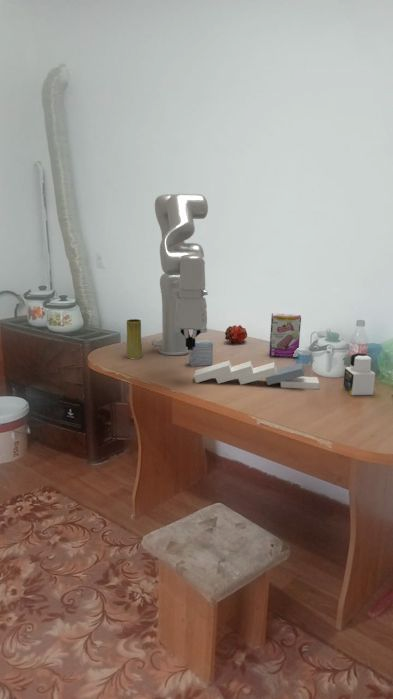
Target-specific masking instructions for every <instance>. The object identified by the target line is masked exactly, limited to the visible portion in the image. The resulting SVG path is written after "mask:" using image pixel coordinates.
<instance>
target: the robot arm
mask: <svg viewBox="0 0 393 699" xmlns="http://www.w3.org/2000/svg"><path fill="white" fill-rule="evenodd" d="M154 211H155V212H154V213H155V217H156V219H157V223H158V225H159V228H160V232H161V241H160V245H159V257H160V265H161V270H162V272H163V273H162V274H161V276H160V278H159V287H160V293H161V306H162V308H161V310H162V313H161V314H162V315H161V316H162V318H161V319H162V320H161V321H162V323H161V324H162V325H161V326H162V330H161V331H162V339H160V340H151V346H153V347H159V348H158V353H160V354H161V355H166V356H184V355H187V354H188V355H189V350H193V347H195V341H196V338H197V336H199V335H201V334H205V333H207V332H208V327H207V324H208V311H207V310H208V309H207V299H206V298H205V297H204V296H208V292H209V291H208V290H206V272H205V271H206V270H205V267H206V265H205V264H206V262H205V261H206V260H205V254H204V248H203V247H202V245H201V244H199V243H195V242H194V243H193V242H189V243H188V242H187V243H186V242H185V241H186V240H189V239H191V237H193V235H194V233H195V223H194V222H195V221H194V220H203V219H206V217H207V216H208V213H209V212H208V211H209V206H208V201H207V198H206V197H205V196H204V195H202V194H201V193H200V194H197V193H194V194H193V193H192V194H191V193H177V194H176V193H175V194H174V193H172V194H171V193H170V194H167V193H166V194H161V195H158V196H157V197H156V199H155V201H154ZM190 330H192V333H191V335H190Z"/></svg>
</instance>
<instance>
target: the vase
mask: <svg viewBox="0 0 393 699" xmlns="http://www.w3.org/2000/svg"><path fill="white" fill-rule="evenodd" d="M142 346H143V344H142V321H141V319H137V318H131V319H127V320H126V355H125V356H127V357H128V358H127V357H126V358H127V359H129V358H139V359H142V358H143V347H142ZM141 357H142V358H141Z"/></svg>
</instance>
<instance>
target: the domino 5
mask: <svg viewBox="0 0 393 699" xmlns="http://www.w3.org/2000/svg"><path fill="white" fill-rule="evenodd" d="M279 386H280V388H286V389H309V390H310V389H311V390H319V389H320V381H319V378H318V377H317V376H302V377H298V378H294V379H290V380H286V381H282V382H279Z"/></svg>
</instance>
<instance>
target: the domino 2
mask: <svg viewBox="0 0 393 699" xmlns="http://www.w3.org/2000/svg"><path fill="white" fill-rule="evenodd" d="M253 368H254V366H253V364H252V361H251V360H249V361H246V362H244V363H243V362H242V363H240V364H237V365H232V369H231V373H227V374H224V375H221V376H218V377H215V379H216V382H217V384H219V385H220V384H221V383H225V382H228V381H232V380H236V379H238V378H239V377H242V376H246V375H249V374H252V373H253Z"/></svg>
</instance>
